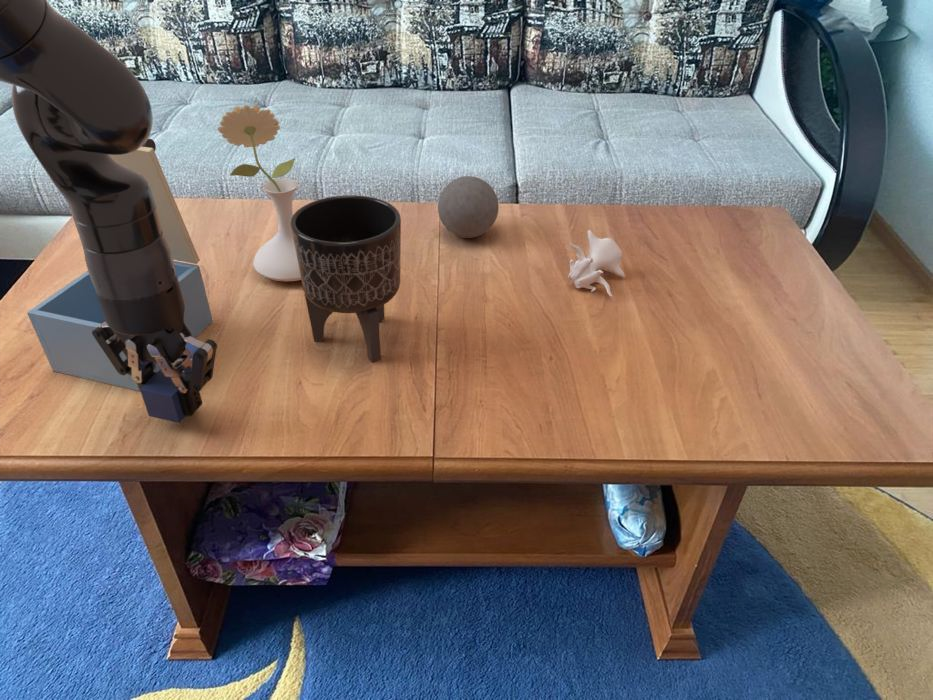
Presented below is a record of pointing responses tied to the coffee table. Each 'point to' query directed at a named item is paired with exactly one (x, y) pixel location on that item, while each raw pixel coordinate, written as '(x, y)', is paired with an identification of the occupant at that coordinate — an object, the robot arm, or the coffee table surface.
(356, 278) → the planter
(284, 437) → the coffee table surface
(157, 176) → the lid
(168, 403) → the block
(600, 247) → the figurine
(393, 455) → the coffee table surface
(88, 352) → the light blue open box
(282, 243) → the flower in vase
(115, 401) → the coffee table surface
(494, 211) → the decorative ball
